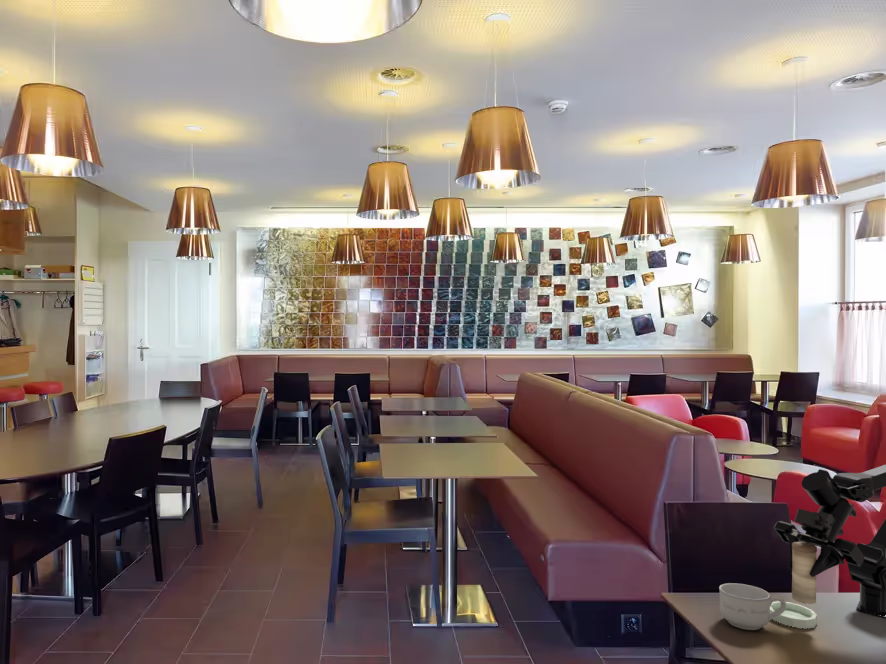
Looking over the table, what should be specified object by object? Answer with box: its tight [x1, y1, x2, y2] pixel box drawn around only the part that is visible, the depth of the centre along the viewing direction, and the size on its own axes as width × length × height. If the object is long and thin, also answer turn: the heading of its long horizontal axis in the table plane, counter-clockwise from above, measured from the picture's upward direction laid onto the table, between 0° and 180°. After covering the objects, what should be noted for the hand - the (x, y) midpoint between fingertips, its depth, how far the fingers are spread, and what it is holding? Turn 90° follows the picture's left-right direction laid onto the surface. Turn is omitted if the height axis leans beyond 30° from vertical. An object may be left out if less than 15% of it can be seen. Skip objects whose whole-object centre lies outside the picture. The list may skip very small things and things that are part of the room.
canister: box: [791, 542, 818, 605], centre depth 143 cm, size 5×5×12 cm
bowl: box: [770, 600, 818, 630], centre depth 147 cm, size 10×10×2 cm
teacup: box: [718, 582, 787, 631], centre depth 142 cm, size 14×11×8 cm
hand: (800, 571), depth 143 cm, fingers closed on canister, 5 cm apart
